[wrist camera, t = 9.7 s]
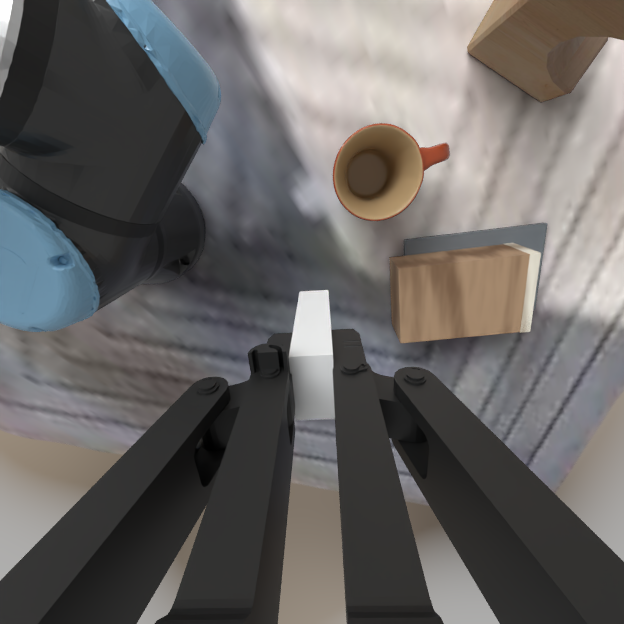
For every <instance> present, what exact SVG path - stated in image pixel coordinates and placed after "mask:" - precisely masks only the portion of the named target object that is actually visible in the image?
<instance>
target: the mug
mask: <svg viewBox="0 0 624 624" xmlns="http://www.w3.org/2000/svg"><path fill="white" fill-rule="evenodd" d="M449 157H450V150H449V145H448V144H447V143H442V144H438V145H435V146H433V147H429V148H419V145H418V143H417V142H416V140H415V139H414V138H413V137H412V136H411V135H410V134H408V133H407V132H406V131H405V130H403V129H401V128H399V127H397V126H395V125H391V124H383V123H380V124H372V125H369V126H366V127H363V128H361V129H360V130H358V131H356V132H355V133H354V134H352V135H351V136H350V137H349V138H348V139H347V140H346V141H345V143H344V144H343V145H342V147H341V148H340V150H339V152H338V154H337V157H336V160H335V163H334V169H333V183H334V188H335V192H336V194H337V197H338V199H339V201H340V202H341V204H342V205H343V206H344V207H345V208H346V209H347V210H348V211H349V212H350V213H351V214H353V215H354V216H356V217H358V218H361V219H364V220H369V221H380V220H385V219H389V218H392V217H394V216H396V215H397V214H399V213H401V212H402V211H403V210H405V209H406V208H407V207H408V206H409V205H410V204H411V202H412V201H413V200H414V198H415V197H416V195H417V193H418V191H419V189H420V187H421V184H422V181H423V176H424V171H425V170H426V169H428V168H429V167H430V166H432V165H434V164H437V163H440V162H443V161H445V160H447V159H448V158H449Z"/></svg>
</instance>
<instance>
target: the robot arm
mask: <svg viewBox="0 0 624 624" xmlns="http://www.w3.org/2000/svg"><path fill="white" fill-rule="evenodd" d="M220 102H221V90H220V85H219V82H218V80H217V78H216V76H215V74H214V72H213V71H212V69H211V68H210V66H209V65H208V64H207V62H206V61H205V60H204V59H203V57H202V56H201V55H200V54H199V53H198V51H197V50H196V49H195V48H194V47H193V45H192V44H191V43H190V42H189V41H188V40H187V39H186V37H185V36H184V35H183V34H182V33H181V32H180V31H179V30H178V28H177V27H176V26H175V25H174V24H173V23H172V22H171V21H170V20H169V19H168V18H167V16H166V15H165V14H164V13H163V12H162V11H161V10H160V9H159V8H158V7H157V6H156V5H155V4H154V3H153V2H152V1H151V0H0V323H1V324H4V325H6V326H9V327H12V328H16V329H19V330H24V331H31V332H42V331H45V332H46V331H55V330H59V329H62V328H65V327H67V326H69V325H72V324H74V323H76V322H79V321H83V320H84V319H87V318H89V317H90V316H92V315H93V314H94V312H96V311H98V310H99V309H101V308H102V307H104V306H106V305H107V304H109V303H111V302H112V301H114V300H116V299H117V298H119V297H120V296H122V295H124V294H125V293H127V292H129V291H130V290H132V289H133V288H135V287H137V286H138V285H140V284H160V283H165V282H168V281H172V280H174V279H176V278H178V277H180V276H181V275H183V274H184V273H186V272H187V271H188V270H190V269H191V268H192V267H193V266H194V265H195V263H196V262H197V260H198V259H199V257H200V255H201V253H202V250H203V247H204V242H205V226H204V220H203V216H202V213H201V211H200V208H199V206H198V204H197V202H196V201H195V199H194V197H193V196H192V194H191V193H190V192H189V191H188V189H187V188H186V187H185V186H184V185H183V184H182V183H181V182H182V180H183V178H184V176H185V174H186V172H187V170H188V168H189V166H190V164H191V163H192V161H193V159H194V157H195V155H196V153H197V151H198V149H199V147H200V145H201V144H205V142H206V140H207V135H206V134H207V132H208V130H209V128H210V125H211V123H212V121H213V119H214V117H215V115H216V113H217V110H218V108H219V106H220ZM248 358H249V364H250V370H251V376H250V379H249V380H248V381H245V382H243V383H239V384H235V385H231V386H228V382H227V381H226V380H225V379H224V378H221V377H208V378H204V379H202V380H200V381H197V382H196V383H194V384H193V385H192V386H191V387H190V388H189V389H188V390H187V391H186V392H185V393H184V394H183V395H182V396H181V397H180V398H179V399H178V400H177V401H176V402H175V403H174V404H173V405H172V406H171V407H170V408H169V409H168V410H167V411H166V412H165V413H164V414H163V415H162V416H161V417H160V418H159V419H158V420H157V421H156V422H155V423H154V424H153V425H152V426H151V427H150V428H149V429H148V430H147V431H146V433H145V434H144V435H143V436H142V437H141V438H140V439H139V440H138V441H137V442H136V443H135V444H134V445H133V446H132V447H131V448H130V449H129V450H128V451H127V452H126V453H125V454H124V455H123V456H122V457H121V458H120V459H119V460H118V461H117V462H116V463H115V464H114V465H113V466H112V467H111V468H110V469H109V470H108V471H107V472H106V473H105V474H104V475H103V476H102V478H100V479H99V481H98V482H97V483H96V484H95V485H94V486H93V487H92V488H91V489H90V490H89V491H88V492H87V493H86V494H85V495H84V496H83V497H82V498H81V499H80V500H79V501H78V502H77V503H76V504H75V505H74V506H73V507H72V508H71V509H70V510H69V511H68V512H67V513H66V514H65V515H64V516H63V517H62V518H61V519H60V520H59V521H58V522H57V523H56V525H55V526H53V528H52V529H51V530H50V531H49V532H48V533H47V534H46V535H45V536H44V537H43V538H42V539H41V540H40V541H39V542H38V543H37V544H36V545H35V546H34V547H33V548H32V549H31V550H30V551H29V552H28V553H27V554H26V555H25V556H24V557H23V558H22V559H21V560H20V561H19V562H18V563H17V564H16V565H15V566H14V567H13V568H12V569H11V570H10V571H9V572H8V573H7V574H6V576H5V577H4V578H3V579H2V580H1V581H0V624H137V622H138V620H139V618H140V617H141V615H142V613H143V612H144V610H145V608H146V607H147V605H148V603H149V602H150V600H151V598H152V596H153V595H154V593H155V591H156V590H157V588H158V586H159V585H160V583H161V581H162V579H163V578H164V576H165V574H166V573H167V571H168V569H169V568H170V566H171V564H172V563H173V561H174V559H175V557H176V556H177V554H178V552H179V551H180V549H181V547H182V545H183V544H184V542H185V540H186V539H187V537H188V535H189V534H190V532H191V530H192V528H193V527H194V525H195V523H196V522H197V520H198V519H199V517H200V515H201V513H202V512H203V510H204V508H205V506H206V505H207V506H206V509H205V513H204V515H203V518H202V522H201V524H200V527H199V530H198V533H197V536H196V539H195V542H194V545H193V548H192V551H191V554H190V557H189V560H188V563H187V566H186V569H185V572H184V575H183V578H182V581H181V584H180V587H179V590H178V593H177V596H176V599H175V601H174V604H173V606H172V609H171V610H170V612H169V613H168V615H166V616H164V617H163V618H161V619H159V620H157V621H156V623H155V624H278V613H279V602H280V592H281V580H282V570H283V559H284V548H285V537H286V526H287V514H288V503H289V493H290V482H291V471H292V460H293V449H294V438H295V425H294V414H295V419H296V420H322V419H335V427H336V446H337V462H338V479H339V495H340V496H339V497H340V513H341V530H342V549H343V566H344V582H345V600H346V618H347V624H444V623H443V621H442V619H441V617H440V616H439V615H438V614H437V613H436V612H435V611H434V609H433V606H432V604H431V600H430V597H429V593H428V589H427V586H426V581H425V577H424V574H423V570H422V566H421V562H420V558H419V554H418V550H417V546H416V542H415V538H414V534H413V531H412V527H411V523H410V519H409V515H408V511H407V507H406V503H405V499H404V495H403V491H402V487H401V484H400V480H399V476H398V472H397V468H396V464H395V460H394V456H393V452H392V448H391V445H390V441H389V438H392V442H393V445H394V446H395V448H396V450H397V451H398V453H399V455H400V456H401V458H402V460H403V461H404V463H405V465H406V467H407V468H408V470H409V472H410V473H411V475H412V477H413V478H414V480H415V482H416V483H417V485H418V487H419V488H420V490H421V492H422V493H423V495H424V497H425V498H426V500H427V502H428V503H429V505H430V507H431V509H432V510H433V512H434V514H435V515H436V517H437V519H438V520H439V522H440V524H441V525H442V527H443V529H444V530H445V532H446V534H447V535H448V537H449V539H450V540H451V542H452V544H453V545H454V547H455V549H456V550H457V552H458V554H459V556H460V557H461V559H462V560H463V562H464V564H465V566H466V567H467V569H468V571H469V572H470V574H471V576H472V577H473V579H474V581H475V582H476V584H477V586H478V587H479V589H480V591H481V593H482V594H483V596H484V597H485V599H486V601H487V603H488V604H489V606H490V608H491V609H492V611H493V613H494V614H495V616H496V618H497V619H498V621H499V623H500V624H624V562H623V561H622V560H621V559H620V558H619V557H618V556H617V555H616V554H615V553H614V552H613V551H612V550H611V549H610V548H609V547H608V546H607V545H606V544H605V543H604V542H603V541H602V540H601V539H600V538H599V537H598V536H597V535H596V534H595V533H594V532H593V531H592V530H591V529H590V528H589V527H588V526H587V525H586V524H585V523H584V522H583V521H582V520H581V519H580V518H579V517H577V515H576V514H575V513H574V512H573V511H572V510H571V509H570V508H569V507H567V506H566V505H565V503H563V502H562V501H561V500H560V499H559V498H558V497H557V496H556V495H555V494H554V493H553V492H552V491H551V490H550V489H549V488H548V487H547V486H546V485H545V484H544V483H543V482H542V481H541V480H540V479H539V478H538V477H537V476H536V475H535V474H534V473H533V472H532V471H531V470H530V469H529V468H528V467H527V466H526V465H525V464H524V463H523V462H522V461H521V460H520V459H519V458H518V457H517V456H516V455H515V454H514V453H513V452H512V451H511V450H510V449H509V448H508V447H507V446H506V445H505V444H504V443H503V442H502V441H501V440H500V439H499V438H498V437H497V436H496V435H495V434H494V433H493V432H492V431H491V430H490V429H488V428H487V427H486V426H485V425H484V424H483V423H482V422H481V421H480V420H479V419H478V418H477V417H476V416H475V415H474V414H473V413H472V412H471V411H470V410H469V409H468V408H467V407H466V406H465V405H464V404H463V403H462V402H461V401H460V400H459V399H458V398H457V397H456V396H455V395H454V394H453V393H452V392H451V391H450V390H449V389H448V388H447V387H446V386H445V385H444V384H443V383H442V382H441V381H440V380H439V379H438V378H437V377H436V376H435V375H434V374H432V373H431V372H429V371H428V370H425V369H422V368H419V367H405V368H402V369H399V370H398V371H397V372H395V375H394V377H388V376H383V375H379V374H377V373H375V372H373V371H372V370H371V367H370V366H369V364H367V363H366V359H365V355H364V351H363V347H362V343H361V339H360V334H359V333H358V332H357V331H355V330H354V329H340V330H331V321H330V307H329V293H328V290H318V291H300V292H299V298H298V304H297V310H296V316H295V322H294V328H293V333H278V334H273V335H272V336H271V337H270V338H269V339H268V341H267V344H261V345H258V346H256V347H254V348H252V349H251V350H250V351H249V352H248Z"/></svg>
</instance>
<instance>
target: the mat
mask: <svg viewBox="0 0 624 624" xmlns="http://www.w3.org/2000/svg"><path fill="white" fill-rule="evenodd" d="M546 230H547V223H538V224H530V225H521V226H513V227H505V228H496V229H488V230H480V231H472V232H463V233H455V234H447V235H438V236H430V237H422V238H414V239H405V240H404V256H406V255H415V254H423V253H432V252H441V251H449V250H458V249H466V248H475V247H484V246H492V245H501V244H506V243H515V244H518V245H521V246H524V247H526V248H529V249H532V250H535V251H538V252H540V253H541V258H540V265H539V272H538V279H537V286H536V293H535V300H534V307H533V310H535V307H536V300H537V293H538V286H539V279H540V272H541V265H542V258H543V251H544V244H545V237H546Z"/></svg>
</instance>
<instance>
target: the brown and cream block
mask: <svg viewBox="0 0 624 624" xmlns="http://www.w3.org/2000/svg"><path fill="white" fill-rule="evenodd" d="M540 258H541V253H540V252H538V251H535V250H532V249H529V248H526V247H524V246H521V245H518V244H515V243H506V244H501V245H492V246H484V247H475V248H466V249H458V250H449V251H441V252H432V253H423V254H415V255H406V256H397V257H389V260H390V286H391V312H392V325H393V327H394V330H395V332H396V334H397V336H398V339H399V341H400V343H409V342H419V341H430V340H441V339H451V338H462V337H473V336H483V335H494V334H505V333H515V332H520V333H521V332H530V328H531V321H532V314H533V307H534V300H535V293H536V286H537V279H538V272H539V265H540Z"/></svg>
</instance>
